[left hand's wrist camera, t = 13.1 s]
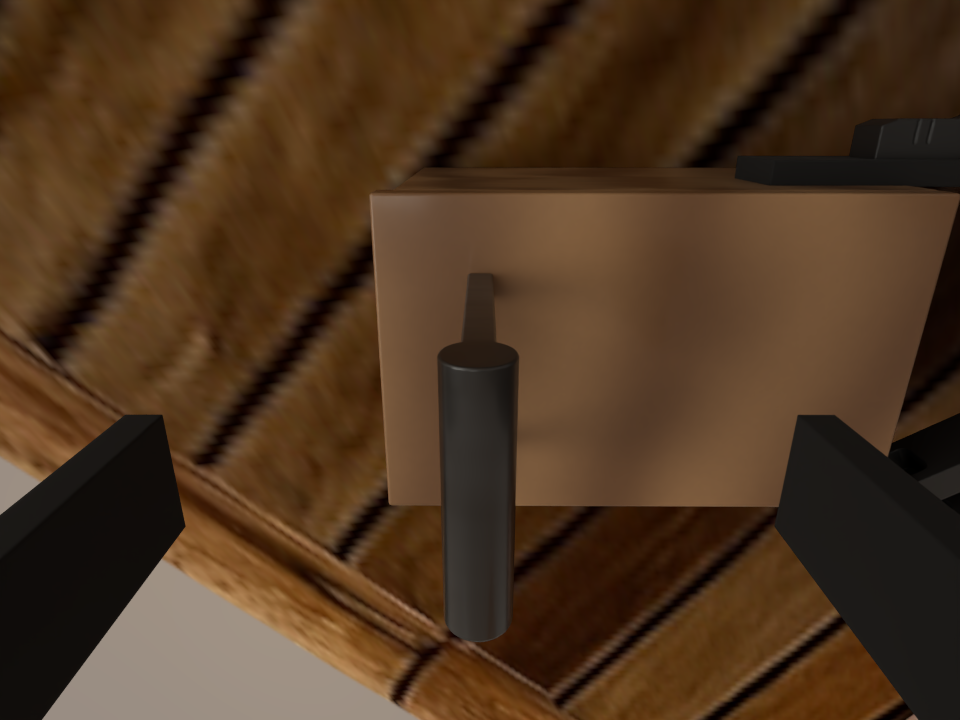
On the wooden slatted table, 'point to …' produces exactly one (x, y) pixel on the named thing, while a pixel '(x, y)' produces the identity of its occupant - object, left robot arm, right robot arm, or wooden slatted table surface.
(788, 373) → the lid
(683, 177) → the chest
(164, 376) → the wooden slatted table surface
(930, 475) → the right robot arm
